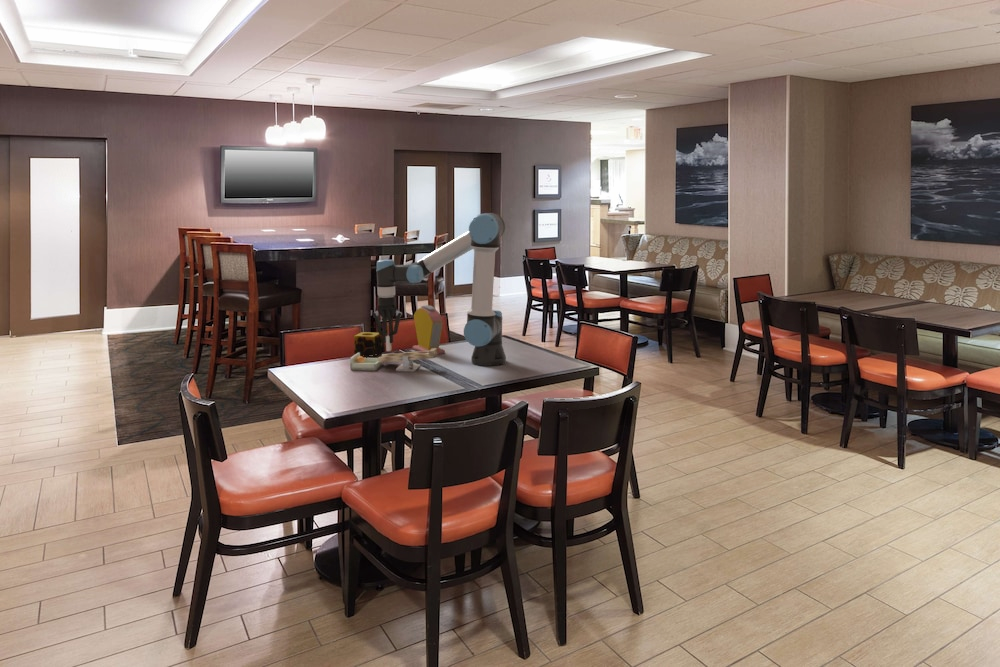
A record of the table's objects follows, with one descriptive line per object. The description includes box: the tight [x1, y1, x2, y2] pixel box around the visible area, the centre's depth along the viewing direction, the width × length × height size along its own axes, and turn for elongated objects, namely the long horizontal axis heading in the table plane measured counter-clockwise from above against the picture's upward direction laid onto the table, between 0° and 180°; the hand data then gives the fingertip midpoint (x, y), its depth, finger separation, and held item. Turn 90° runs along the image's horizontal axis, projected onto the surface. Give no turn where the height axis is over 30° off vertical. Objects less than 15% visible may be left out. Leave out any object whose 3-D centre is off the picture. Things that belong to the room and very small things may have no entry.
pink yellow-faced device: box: [411, 305, 446, 356], centre depth 346 cm, size 22×9×22 cm, turn 30°
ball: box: [356, 356, 365, 363], centre depth 317 cm, size 4×4×4 cm
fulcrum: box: [395, 356, 421, 373], centre depth 314 cm, size 8×10×6 cm
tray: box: [349, 353, 384, 371], centre depth 317 cm, size 11×11×5 cm
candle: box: [353, 331, 384, 358], centre depth 339 cm, size 10×10×10 cm
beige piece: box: [377, 348, 438, 363], centre depth 317 cm, size 25×13×4 cm, turn 82°
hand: (388, 350), depth 322 cm, fingers closed
